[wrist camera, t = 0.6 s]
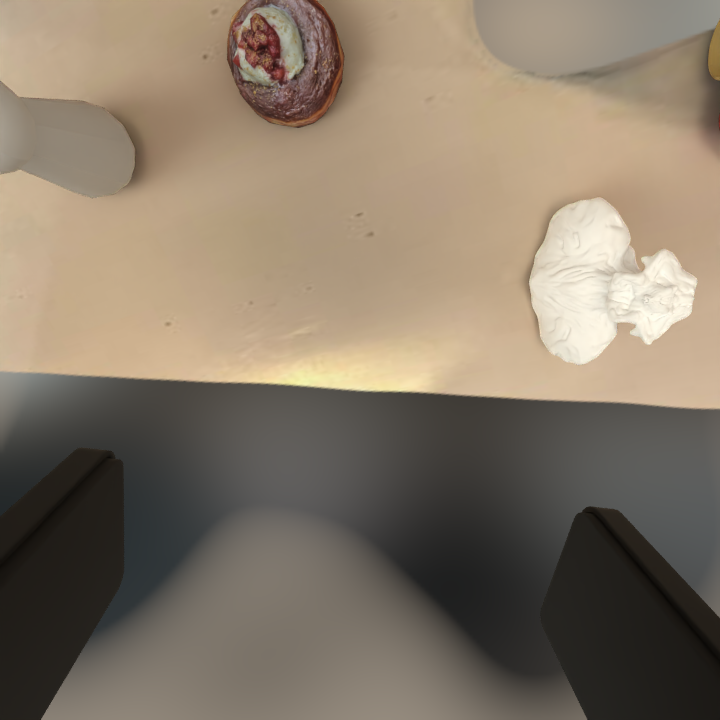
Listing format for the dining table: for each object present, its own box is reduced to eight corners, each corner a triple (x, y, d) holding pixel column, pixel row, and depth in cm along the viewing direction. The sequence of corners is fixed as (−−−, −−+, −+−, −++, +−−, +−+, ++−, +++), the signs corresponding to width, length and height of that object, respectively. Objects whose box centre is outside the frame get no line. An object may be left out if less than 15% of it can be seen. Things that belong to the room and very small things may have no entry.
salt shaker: (79, 204, 32) (-83, 198, 20) (51, 117, 30) (-147, 51, 18) (158, 191, 32) (44, 178, 20) (134, 104, 30) (-8, 29, 18)
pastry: (207, 34, 29) (181, 0, 25) (304, -31, 28) (297, -80, 24) (272, 150, 32) (260, 139, 27) (364, 94, 31) (368, 72, 26)
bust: (549, 341, 39) (702, 371, 31) (501, 362, 35) (664, 403, 27) (562, 199, 36) (741, 189, 27) (510, 201, 31) (705, 190, 23)
